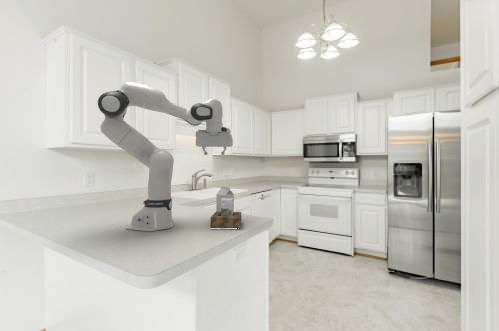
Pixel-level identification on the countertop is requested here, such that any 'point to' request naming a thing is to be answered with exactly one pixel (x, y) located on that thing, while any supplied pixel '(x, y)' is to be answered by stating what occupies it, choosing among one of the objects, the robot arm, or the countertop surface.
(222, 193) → the milk carton
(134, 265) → the countertop surface
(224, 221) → the walnut caddy
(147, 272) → the countertop surface
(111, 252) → the countertop surface
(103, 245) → the countertop surface
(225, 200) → the syrup box
